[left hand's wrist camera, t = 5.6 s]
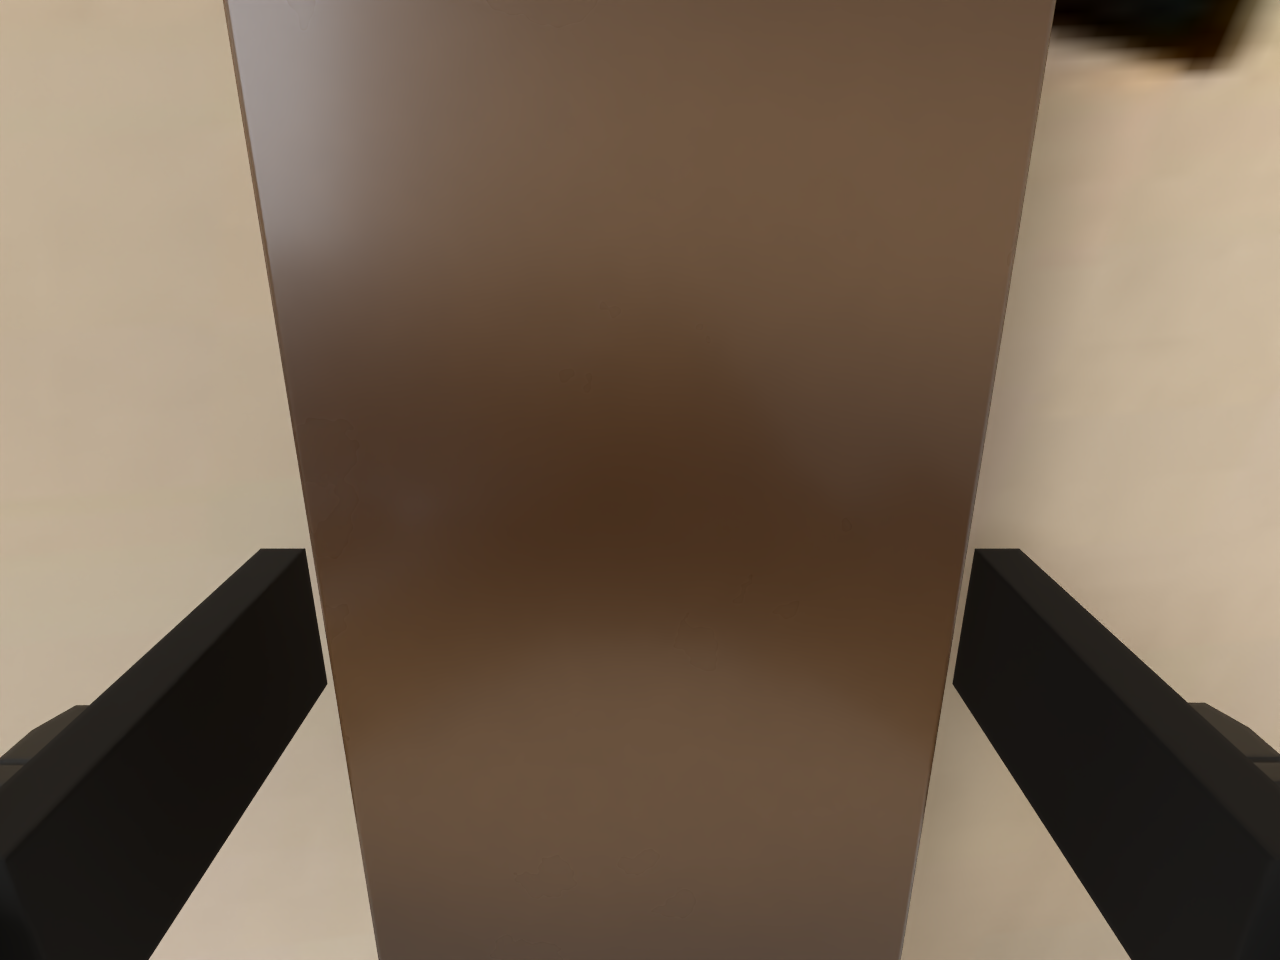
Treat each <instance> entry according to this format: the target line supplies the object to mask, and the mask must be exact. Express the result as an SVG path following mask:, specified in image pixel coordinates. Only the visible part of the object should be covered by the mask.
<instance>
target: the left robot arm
mask: <svg viewBox="0 0 1280 960" xmlns="http://www.w3.org/2000/svg"><path fill="white" fill-rule="evenodd" d="M326 685H327V678H326V672H325V666H324V660H323V654H322V648H321V642H320V636H319V630H318V624H317V618H316V612H315V606H314V599H313V593H312V587H311V581H310V575H309V569H308V563H307V557H306V551H305V549H260V550H259V551H258V552H257V553H256V554H254V555H253V556H252V557H251V558H250V559H249V560H248V561H247V562H246V563H245V564H244V565H242V566H241V567H240V568H239V569H238V570H237V571H236V572H235V573H234V574H233V575H231V576H230V577H229V578H228V579H227V580H226V581H225V582H224V583H223V584H222V585H221V586H219V587H218V588H217V589H216V590H215V591H214V592H213V593H212V594H211V595H210V596H209V597H207V598H206V599H205V600H204V601H203V602H202V603H201V604H200V605H199V606H198V607H197V608H195V609H194V610H193V611H192V612H191V613H190V614H189V615H188V616H187V617H186V618H184V619H183V620H182V621H181V622H180V623H179V624H178V625H177V626H176V627H175V628H174V629H172V630H171V631H170V632H169V633H168V634H167V635H166V636H165V637H164V638H163V639H162V640H160V641H159V642H158V643H157V644H156V645H155V646H154V647H153V648H152V649H151V650H149V651H148V652H147V653H146V654H145V655H144V656H143V657H142V658H141V659H140V660H139V661H137V662H136V663H135V664H134V665H133V666H132V667H131V668H130V669H129V670H128V671H127V672H125V673H124V674H123V675H122V676H121V677H120V678H119V679H118V680H117V681H116V682H115V683H113V684H112V685H111V686H110V687H109V688H108V689H107V690H106V691H105V692H104V693H102V694H101V695H100V696H99V697H98V698H97V699H96V700H95V701H94V702H93V703H92V704H90V705H76V706H74V707H72V708H70V709H69V710H67V711H65V712H63V713H62V714H60V715H58V716H56V717H55V718H53V719H51V720H49V721H48V722H46V723H44V724H42V725H40V726H39V727H37V728H35V729H33V730H32V731H31V732H29V733H28V734H27V735H26V736H25V737H24V738H23V739H21V740H20V741H19V742H18V743H17V744H16V745H15V746H13V747H12V748H11V749H10V750H9V751H8V752H6V753H5V754H4V755H3V756H2V757H1V758H0V960H149V958H150V957H151V955H152V954H153V952H154V951H155V949H156V947H157V946H158V944H159V943H160V941H161V940H162V938H163V937H164V935H165V934H166V932H167V930H168V929H169V927H170V926H171V924H172V923H173V921H174V920H175V918H176V917H177V915H178V914H179V912H180V910H181V909H182V907H183V906H184V904H185V903H186V901H187V900H188V898H189V897H190V895H191V893H192V892H193V890H194V889H195V887H196V886H197V884H198V883H199V881H200V880H201V878H202V876H203V875H204V873H205V872H206V870H207V869H208V867H209V866H210V864H211V863H212V861H213V860H214V858H215V856H216V855H217V853H218V852H219V850H220V849H221V847H222V846H223V844H224V843H225V841H226V839H227V838H228V836H229V835H230V833H231V832H232V830H233V829H234V827H235V826H236V824H237V823H238V821H239V819H240V818H241V816H242V815H243V813H244V812H245V810H246V809H247V807H248V806H249V804H250V802H251V801H252V799H253V798H254V796H255V795H256V793H257V792H258V790H259V789H260V787H261V786H262V784H263V782H264V781H265V779H266V778H267V776H268V775H269V773H270V772H271V770H272V769H273V767H274V765H275V764H276V762H277V761H278V759H279V758H280V756H281V755H282V753H283V752H284V750H285V749H286V747H287V745H288V744H289V742H290V741H291V739H292V738H293V736H294V735H295V733H296V732H297V730H298V728H299V727H300V725H301V724H302V722H303V721H304V719H305V718H306V716H307V715H308V713H309V712H310V710H311V708H312V707H313V705H314V704H315V702H316V701H317V699H318V698H319V696H320V695H321V693H322V691H323V690H324V688H325V687H326ZM953 685H954V687H955V688H956V690H957V691H958V693H959V695H960V696H961V698H962V699H963V701H964V702H965V704H966V705H967V707H968V708H969V710H970V712H971V713H972V715H973V716H974V718H975V719H976V721H977V722H978V724H979V725H980V727H981V728H982V730H983V732H984V733H985V735H986V736H987V738H988V739H989V741H990V742H991V744H992V745H993V747H994V749H995V750H996V752H997V753H998V755H999V756H1000V758H1001V759H1002V761H1003V762H1004V764H1005V766H1006V767H1007V769H1008V770H1009V772H1010V773H1011V775H1012V776H1013V778H1014V779H1015V781H1016V782H1017V784H1018V786H1019V787H1020V789H1021V790H1022V792H1023V793H1024V795H1025V796H1026V798H1027V799H1028V801H1029V803H1030V804H1031V806H1032V807H1033V809H1034V810H1035V812H1036V813H1037V815H1038V816H1039V818H1040V819H1041V821H1042V823H1043V824H1044V826H1045V827H1046V829H1047V830H1048V832H1049V833H1050V835H1051V836H1052V838H1053V840H1054V841H1055V843H1056V844H1057V846H1058V847H1059V849H1060V850H1061V852H1062V853H1063V855H1064V856H1065V858H1066V860H1067V861H1068V863H1069V864H1070V866H1071V867H1072V869H1073V870H1074V872H1075V873H1076V875H1077V877H1078V878H1079V880H1080V881H1081V883H1082V884H1083V886H1084V887H1085V889H1086V890H1087V892H1088V893H1089V895H1090V897H1091V898H1092V900H1093V901H1094V903H1095V904H1096V906H1097V907H1098V909H1099V910H1100V912H1101V914H1102V915H1103V917H1104V918H1105V920H1106V921H1107V923H1108V924H1109V926H1110V927H1111V929H1112V930H1113V932H1114V934H1115V935H1116V937H1117V938H1118V940H1119V941H1120V943H1121V944H1122V946H1123V947H1124V949H1125V951H1126V952H1127V954H1128V955H1129V957H1130V958H1131V960H1280V754H1279V753H1278V752H1276V751H1275V750H1274V749H1273V748H1272V747H1271V746H1270V745H1268V744H1267V743H1266V742H1265V741H1264V740H1263V739H1261V738H1260V737H1259V736H1258V735H1257V734H1256V733H1254V732H1253V731H1252V730H1251V729H1250V728H1249V727H1247V726H1245V725H1243V724H1242V723H1240V722H1238V721H1236V720H1234V719H1233V718H1231V717H1229V716H1227V715H1226V714H1224V713H1222V712H1220V711H1218V710H1217V709H1215V708H1213V707H1211V706H1210V705H1208V704H1206V703H1187V702H1186V701H1185V700H1184V699H1183V698H1182V697H1181V696H1180V695H1179V694H1178V693H1176V692H1175V691H1174V690H1173V689H1172V688H1171V687H1170V686H1169V685H1168V684H1167V683H1165V682H1164V681H1163V680H1162V679H1161V678H1160V677H1159V676H1158V675H1157V674H1156V673H1155V672H1153V671H1152V670H1151V669H1150V668H1149V667H1148V666H1147V665H1146V664H1145V663H1144V662H1143V661H1141V660H1140V659H1139V658H1138V657H1137V656H1136V655H1135V654H1134V653H1133V652H1132V651H1130V650H1129V649H1128V648H1127V647H1126V646H1125V645H1124V644H1123V643H1122V642H1121V641H1120V640H1118V639H1117V638H1116V637H1115V636H1114V635H1113V634H1112V633H1111V632H1110V631H1109V630H1108V629H1106V628H1105V627H1104V626H1103V625H1102V624H1101V623H1100V622H1099V621H1098V620H1097V619H1096V618H1094V617H1093V616H1092V615H1091V614H1090V613H1089V612H1088V611H1087V610H1086V609H1085V608H1083V607H1082V606H1081V605H1080V604H1079V603H1078V602H1077V601H1076V600H1075V599H1074V598H1073V597H1071V596H1070V595H1069V594H1068V593H1067V592H1066V591H1065V590H1064V589H1063V588H1062V587H1061V586H1059V585H1058V584H1057V583H1056V582H1055V581H1054V580H1053V579H1052V578H1051V577H1050V576H1048V575H1047V574H1046V573H1045V572H1044V571H1043V570H1042V569H1041V568H1040V567H1039V566H1038V565H1036V564H1035V563H1034V562H1033V561H1032V560H1031V559H1030V558H1029V557H1028V556H1027V555H1026V554H1024V553H1023V552H1022V551H1021V550H1020V549H975V551H974V557H973V563H972V569H971V575H970V581H969V587H968V593H967V599H966V605H965V611H964V617H963V624H962V630H961V636H960V642H959V648H958V654H957V660H956V666H955V672H954V678H953Z"/></svg>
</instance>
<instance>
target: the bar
mask: <svg viewBox="0 0 1280 960" xmlns="http://www.w3.org/2000/svg"><path fill="white" fill-rule="evenodd" d="M223 3H224V9H225V15H226V22H227V28H228V34H229V40H230V46H231V52H232V59H233V65H234V71H235V77H236V83H237V89H238V96H239V102H240V108H241V114H242V120H243V126H244V133H245V139H246V145H247V151H248V157H249V163H250V169H251V176H252V182H253V188H254V194H255V200H256V206H257V213H258V219H259V225H260V231H261V237H262V243H263V250H264V256H265V262H266V268H267V274H268V280H269V287H270V293H271V299H272V305H273V311H274V317H275V324H276V330H277V336H278V342H279V348H280V354H281V361H282V367H283V373H284V379H285V385H286V391H287V398H288V404H289V410H290V416H291V422H292V428H293V434H294V441H295V447H296V453H297V459H298V465H299V471H300V478H301V484H302V490H303V496H304V502H305V508H306V515H307V521H308V527H309V533H310V539H311V545H312V552H313V558H314V564H315V570H316V576H317V582H318V589H319V595H320V601H321V607H322V613H323V619H324V626H325V632H326V638H327V644H328V650H329V656H330V663H331V669H332V675H333V681H334V687H335V693H336V699H337V706H338V712H339V718H340V724H341V730H342V736H343V743H344V749H345V755H346V761H347V767H348V773H349V780H350V786H351V792H352V798H353V804H354V810H355V817H356V823H357V829H358V835H359V841H360V847H361V854H362V860H363V866H364V872H365V878H366V884H367V891H368V897H369V903H370V909H371V915H372V921H373V928H374V934H375V940H376V946H377V952H378V958H379V960H901V954H902V948H903V942H904V936H905V929H906V923H907V917H908V911H909V905H910V898H911V892H912V886H913V880H914V874H915V868H916V861H917V855H918V849H919V843H920V837H921V831H922V824H923V818H924V812H925V806H926V800H927V794H928V787H929V781H930V775H931V769H932V763H933V757H934V750H935V744H936V738H937V732H938V726H939V720H940V713H941V707H942V701H943V695H944V689H945V682H946V676H947V670H948V664H949V658H950V652H951V645H952V639H953V633H954V627H955V621H956V615H957V608H958V602H959V596H960V590H961V584H962V578H963V571H964V565H965V559H966V553H967V547H968V541H969V534H970V528H971V522H972V516H973V510H974V504H975V497H976V491H977V485H978V479H979V473H980V466H981V460H982V454H983V448H984V442H985V436H986V429H987V423H988V417H989V411H990V405H991V399H992V392H993V386H994V380H995V374H996V368H997V362H998V355H999V349H1000V343H1001V337H1002V331H1003V325H1004V318H1005V312H1006V306H1007V300H1008V294H1009V288H1010V281H1011V275H1012V269H1013V263H1014V257H1015V250H1016V244H1017V238H1018V232H1019V226H1020V220H1021V213H1022V207H1023V201H1024V195H1025V189H1026V183H1027V176H1028V170H1029V164H1030V158H1031V152H1032V146H1033V139H1034V133H1035V127H1036V121H1037V115H1038V109H1039V102H1040V96H1041V90H1042V84H1043V78H1044V72H1045V65H1046V59H1047V53H1048V47H1049V41H1050V35H1051V28H1052V22H1053V16H1054V10H1055V4H1056V0H223Z"/></svg>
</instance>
